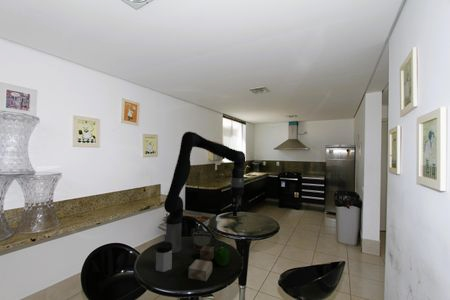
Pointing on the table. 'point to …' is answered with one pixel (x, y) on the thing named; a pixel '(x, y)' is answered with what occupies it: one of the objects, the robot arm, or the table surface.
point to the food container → (201, 239)
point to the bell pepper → (222, 256)
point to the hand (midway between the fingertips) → (236, 214)
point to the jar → (163, 256)
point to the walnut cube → (207, 253)
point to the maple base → (200, 270)
